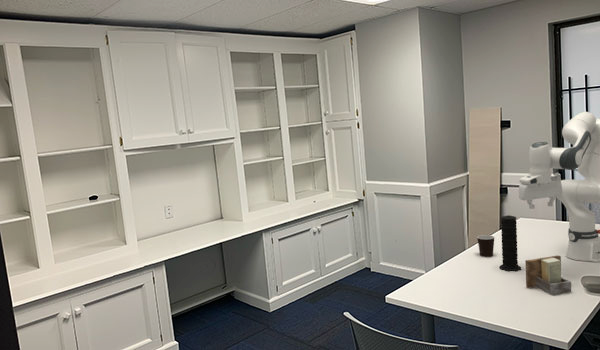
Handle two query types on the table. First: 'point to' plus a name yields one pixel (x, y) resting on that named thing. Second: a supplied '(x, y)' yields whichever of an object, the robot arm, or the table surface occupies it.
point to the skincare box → (551, 270)
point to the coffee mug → (486, 245)
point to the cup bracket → (536, 280)
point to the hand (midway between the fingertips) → (541, 207)
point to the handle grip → (509, 244)
